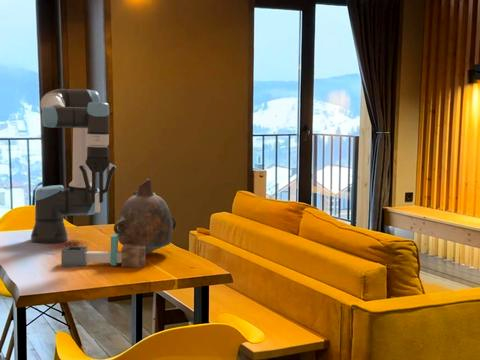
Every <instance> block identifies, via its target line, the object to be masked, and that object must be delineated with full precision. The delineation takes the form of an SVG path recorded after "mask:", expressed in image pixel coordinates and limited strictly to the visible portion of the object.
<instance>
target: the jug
mask: <svg viewBox="0 0 480 360" xmlns="http://www.w3.org/2000/svg"><path fill="white" fill-rule="evenodd" d="M154 193H155V192H153V186H152V180H151V179H149V178H147V179H145V181H144V182H143V183H140V184H139V185H138V190H136V191H134V192H133V195H132V196H130V197H129V198H127V200H126V201H125V203H124V204H123V205H122V207H121V210H120V212H119V215H118V220H117V221H116V222H115V223H114V226H113V233H114V234H118V243H120V244H121V245H122V246H123V244H146V253H145V255H148V254H150V253H152V252H155V251H157V250H159V249H161V248H164V247H166V246H169V245H170V244H171V243H172V239H173V233H174V231H173V230H174V229H175V228H176V220H175V218H174V217H173V216H172V215H171V210H170V208H169V206H168V204H167V202H166V201H165V200H164V199H163V198H162V197H161V196H159V195H157V194H156V193H155V194H154Z"/></svg>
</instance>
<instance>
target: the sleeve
mask: <svg viewBox="0 0 480 360" xmlns="http://www.w3.org/2000/svg"><path fill="white" fill-rule="evenodd" d="M87 251H88V246H64V247H63V248H62V249H61V254H60V255H61V268H85V267H86V266H87V265H88V263H85V253H86V252H87Z"/></svg>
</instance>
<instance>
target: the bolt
mask: <svg viewBox="0 0 480 360" xmlns="http://www.w3.org/2000/svg"><path fill="white" fill-rule="evenodd" d="M118 243H119V240H118V234H116V233H112V234H111V235H110V251H107V250H106V251H105V250H104V251H103V250H100V251H99V250H96V251H95V250H93V251H92V250H87V252H86V253H85V263H87V264H89V263H90V264H91V263H98V264H100V263H101V264H104V263H105V264H107V263H108V264H110V266H117V265H118V263H119V264H120V263H121V264H122V250H121V251H119V247H118V246H119V244H118Z"/></svg>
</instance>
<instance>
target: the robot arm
mask: <svg viewBox="0 0 480 360" xmlns="http://www.w3.org/2000/svg"><path fill="white" fill-rule="evenodd" d="M39 105H40V109H41V121H42V123H41V124H42V126H43V127H44V128H45V127H46V128H53V129H54V128H72V132H73V133H72V181H70V182H69V183H68V188H65V187H64V185H62V184H57V185H47V186H43V187H42V186H41V187H39V188H37V189H36V191H35V194H34V196H35V197H34V202H35V211H34V214H35V215H34V216H35V217H34V220H35V222H34V225H33V229H32V231H31V234H30V241H31V242H33V243H38V244H56V243H64V242H67V241H68V239H69V237H68V236H69V235H68V234H69V233H68V232H67V231H68V230H67V229H66V226H65V222H64V216H91V215H95V214H96V213H100V212H101V204H102V203H103V202H104V194H105V193H106V194H107V193H108V192H109V190H110V186H111V181H112V177H113V174H114V172H115V170H116V168H117V165H114V164H112V163H111V161H110V159H109V158H110V157H109V156H110V155H109V154H110V151H109V150H110V149H109V145H110V140H109V139H110V134H109V132H110V112H111V111H110V104H109V103H108V102H101V98H100V95H99V92H98V91H96V90H94V89H93V90H92V89H79V88H78V89H74V88H73V89H72V88H70V89H69V88H57V89H52V90H51V91H48V92H46V93H45V94H44V95H42V97H41V99H40V104H39ZM107 169H108V170H109V172H108V174H107V179H106V182H105V185H104V175H105V174H104V173H105V171H106V170H107ZM97 173H98V179H99V180H98V182H99V184H98V186H99V187H97ZM104 186H105V187H104Z"/></svg>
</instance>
